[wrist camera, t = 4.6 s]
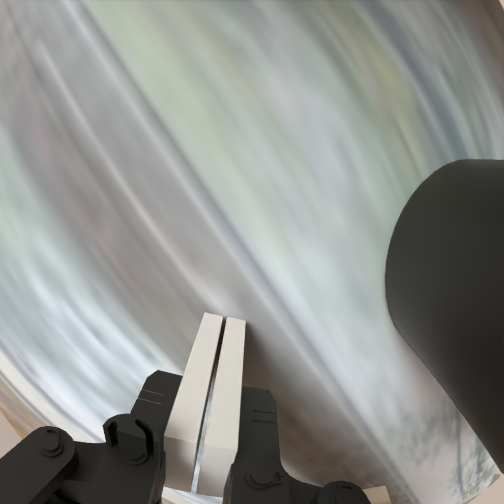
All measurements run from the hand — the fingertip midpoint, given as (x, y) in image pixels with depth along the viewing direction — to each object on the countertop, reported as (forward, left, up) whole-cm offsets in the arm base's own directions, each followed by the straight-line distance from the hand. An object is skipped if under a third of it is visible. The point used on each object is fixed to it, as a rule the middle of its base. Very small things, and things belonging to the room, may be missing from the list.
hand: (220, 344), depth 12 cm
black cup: (-6, +12, -1) cm, 13 cm away
